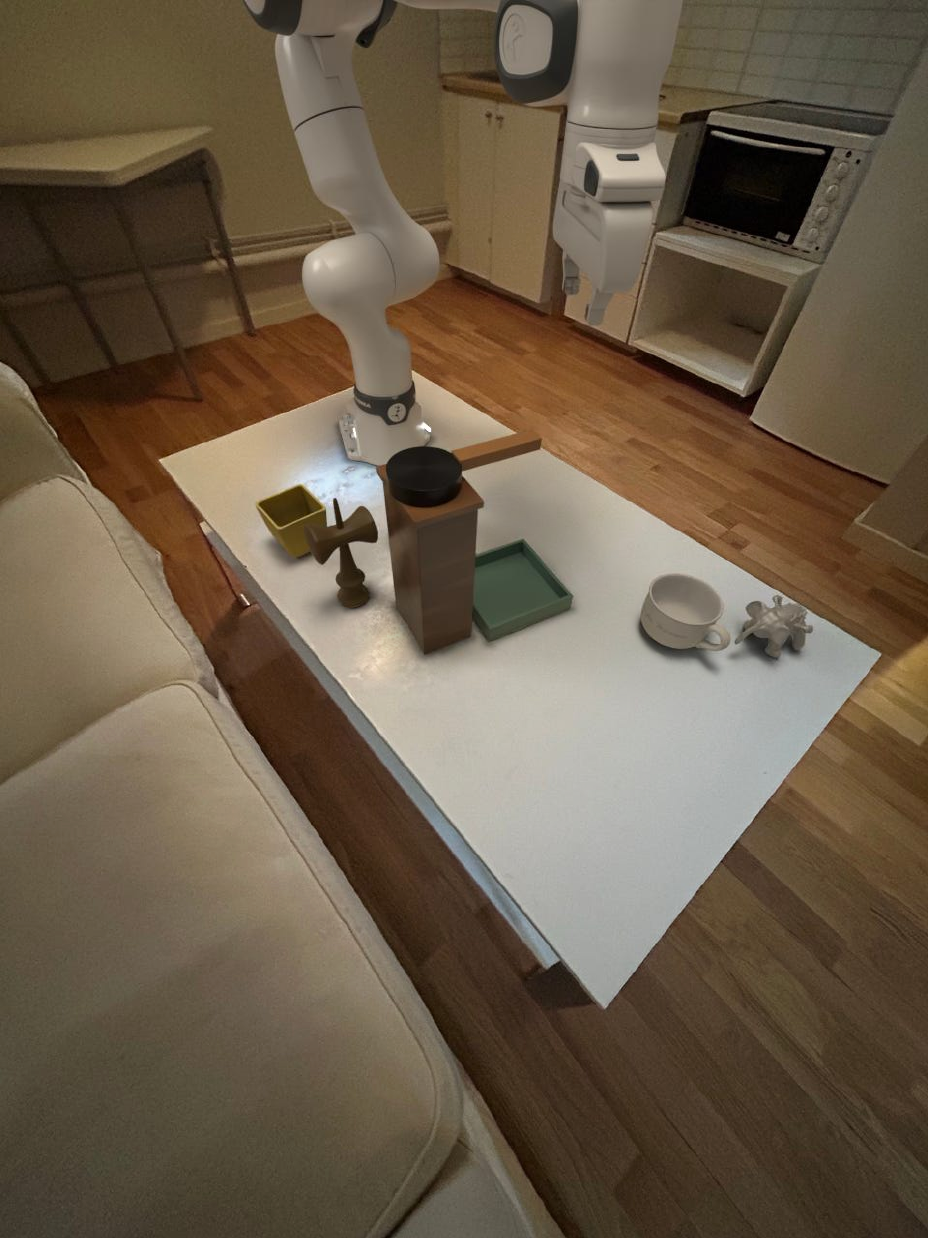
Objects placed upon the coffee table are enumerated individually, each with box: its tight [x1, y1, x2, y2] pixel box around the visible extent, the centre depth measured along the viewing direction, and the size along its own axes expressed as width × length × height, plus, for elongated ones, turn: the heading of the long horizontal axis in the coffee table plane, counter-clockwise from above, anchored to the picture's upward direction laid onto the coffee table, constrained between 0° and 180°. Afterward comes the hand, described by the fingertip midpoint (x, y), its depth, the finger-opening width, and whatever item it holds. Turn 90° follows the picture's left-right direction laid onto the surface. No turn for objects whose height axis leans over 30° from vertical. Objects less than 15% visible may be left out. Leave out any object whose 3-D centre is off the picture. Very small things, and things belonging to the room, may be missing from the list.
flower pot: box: [254, 483, 328, 559], centre depth 92 cm, size 9×9×9 cm
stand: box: [375, 464, 485, 655], centre depth 76 cm, size 12×9×26 cm
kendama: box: [303, 497, 379, 608], centre depth 81 cm, size 6×10×20 cm, turn 122°
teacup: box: [640, 572, 731, 652], centre depth 81 cm, size 14×11×8 cm
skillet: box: [386, 428, 543, 507], centre depth 66 cm, size 9×20×3 cm, turn 117°
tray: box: [472, 538, 574, 642], centre depth 89 cm, size 15×15×3 cm
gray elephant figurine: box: [733, 594, 814, 659], centre depth 81 cm, size 9×12×8 cm
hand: (580, 307), depth 66 cm, fingers open, 8 cm apart
